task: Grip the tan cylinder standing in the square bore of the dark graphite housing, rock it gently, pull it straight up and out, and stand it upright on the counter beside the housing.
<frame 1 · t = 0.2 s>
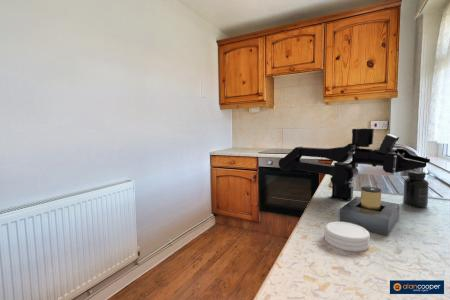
hand: (428, 162, 74), 17 cm above the countertop, tool horizontal, fingers open, 9 cm apart
housing: (369, 220, 71), on the countertop
supplement bottle: (414, 205, 84), on the countertop
tan cylinder: (369, 221, 71), resting in housing
white flat disc stack: (346, 243, 59), on the countertop
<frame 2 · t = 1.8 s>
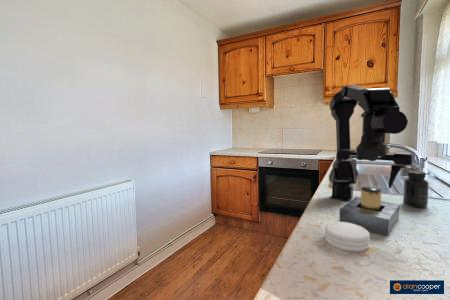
hand: (371, 185, 70), 11 cm above the countertop, tool pointing down, fingers open, 9 cm apart
nothing on the countertop moved.
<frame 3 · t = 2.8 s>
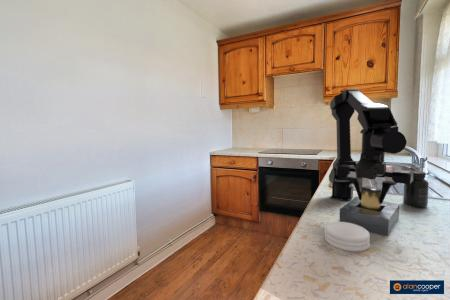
hand: (370, 201, 70), 6 cm above the countertop, tool pointing down, fingers closed on tan cylinder, 5 cm apart
tan cylinder: (369, 221, 71), resting in housing, touching gripper
everything else where it was.
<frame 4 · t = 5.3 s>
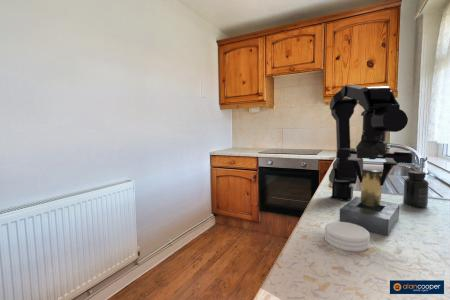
hand: (371, 183, 70), 11 cm above the countertop, tool pointing down, fingers closed on tan cylinder, 5 cm apart
tan cylinder: (370, 203, 70), point 5 cm above the countertop, touching gripper
everything else where it was.
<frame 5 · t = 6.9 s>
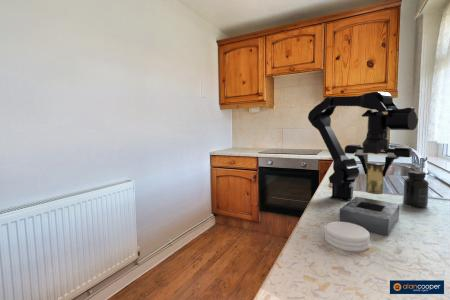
hand: (375, 175, 81), 11 cm above the countertop, tool pointing down, fingers closed on tan cylinder, 5 cm apart
tan cylinder: (374, 192, 82), point 5 cm above the countertop, touching gripper
everything else where it was.
when the fingers open (7 cm above the countertop, at t = 7.9 s): tan cylinder drops 2 cm, on the countertop.
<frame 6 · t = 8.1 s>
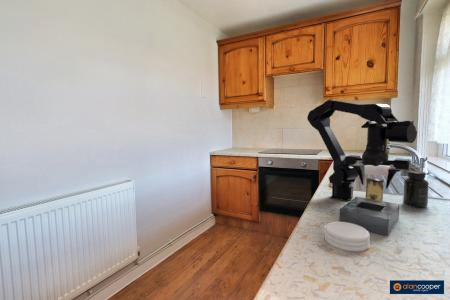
hand: (374, 186, 82), 7 cm above the countertop, tool pointing down, fingers open, 7 cm apart
tan cylinder: (373, 207, 82), on the countertop
everything else where it was.
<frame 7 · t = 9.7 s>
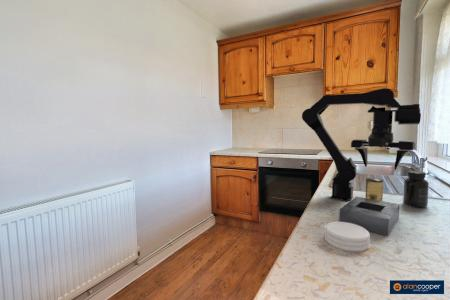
hand: (380, 167, 86), 13 cm above the countertop, tool pointing down, fingers open, 9 cm apart
nothing on the countertop moved.
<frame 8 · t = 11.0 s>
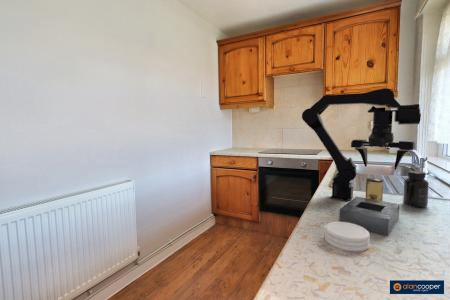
hand: (380, 167, 86), 13 cm above the countertop, tool pointing down, fingers open, 9 cm apart
nothing on the countertop moved.
at the end: tan cylinder inside the target area (0.4 cm from its centre), on the countertop; tan cylinder tilted 0°; the gripper is holding nothing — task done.
